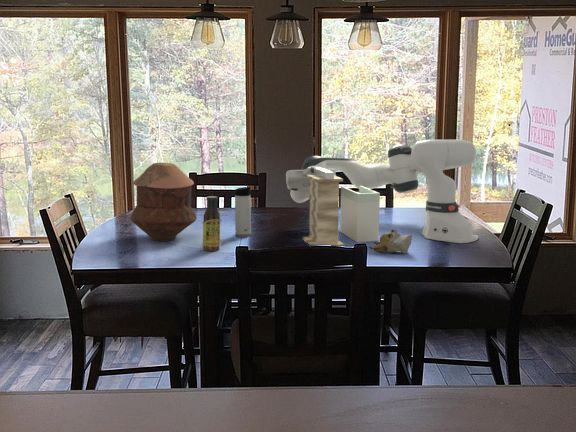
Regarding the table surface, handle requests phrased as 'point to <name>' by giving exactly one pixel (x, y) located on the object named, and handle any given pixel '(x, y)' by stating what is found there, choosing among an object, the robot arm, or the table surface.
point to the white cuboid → (360, 214)
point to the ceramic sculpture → (393, 243)
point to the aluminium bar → (322, 172)
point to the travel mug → (243, 212)
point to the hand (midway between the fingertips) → (315, 168)
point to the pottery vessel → (163, 202)
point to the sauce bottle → (211, 225)
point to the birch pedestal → (324, 211)
